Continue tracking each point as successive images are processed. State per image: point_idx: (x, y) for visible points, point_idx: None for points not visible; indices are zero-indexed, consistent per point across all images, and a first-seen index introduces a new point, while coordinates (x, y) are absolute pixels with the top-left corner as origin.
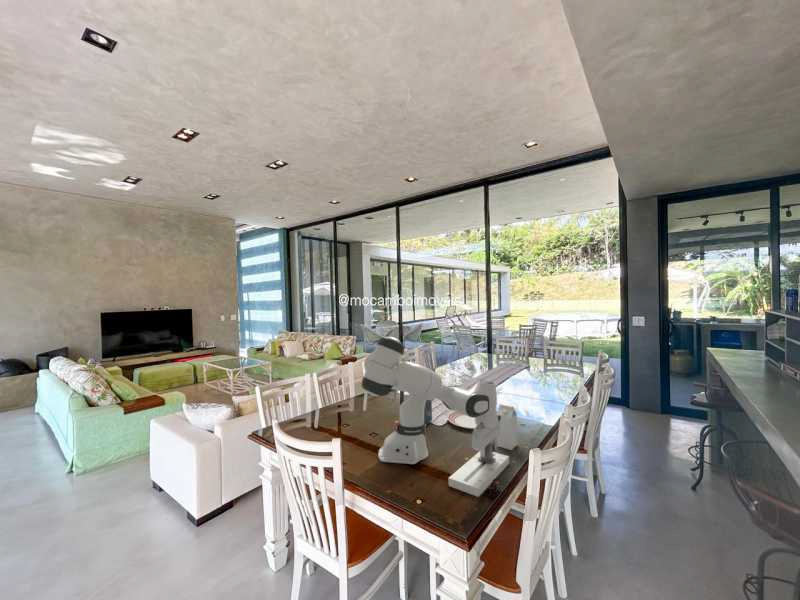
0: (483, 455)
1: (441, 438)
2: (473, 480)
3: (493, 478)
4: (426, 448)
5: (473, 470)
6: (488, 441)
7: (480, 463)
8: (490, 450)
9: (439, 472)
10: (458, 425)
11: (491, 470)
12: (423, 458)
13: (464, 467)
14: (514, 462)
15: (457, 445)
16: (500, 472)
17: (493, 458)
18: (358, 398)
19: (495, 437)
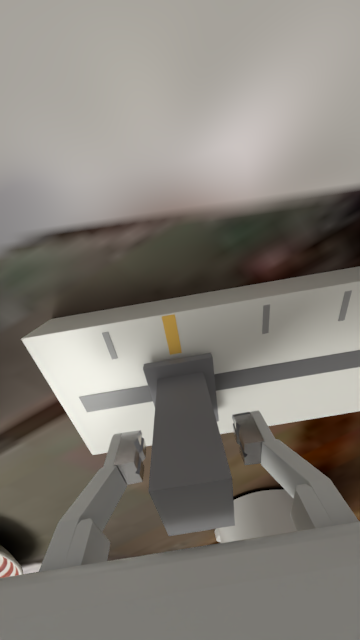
0: (263, 423)
1: (120, 527)
2: None
3: (274, 284)
4: (250, 526)
5: (323, 373)
6: (295, 618)
7: (233, 390)
8: (201, 438)
9: (315, 433)
10: (13, 563)
11: (273, 314)
12: (271, 492)
13: (313, 409)
14: (12, 305)
15: None
16: (175, 298)
17: (154, 376)
18: None
19: (9, 600)
